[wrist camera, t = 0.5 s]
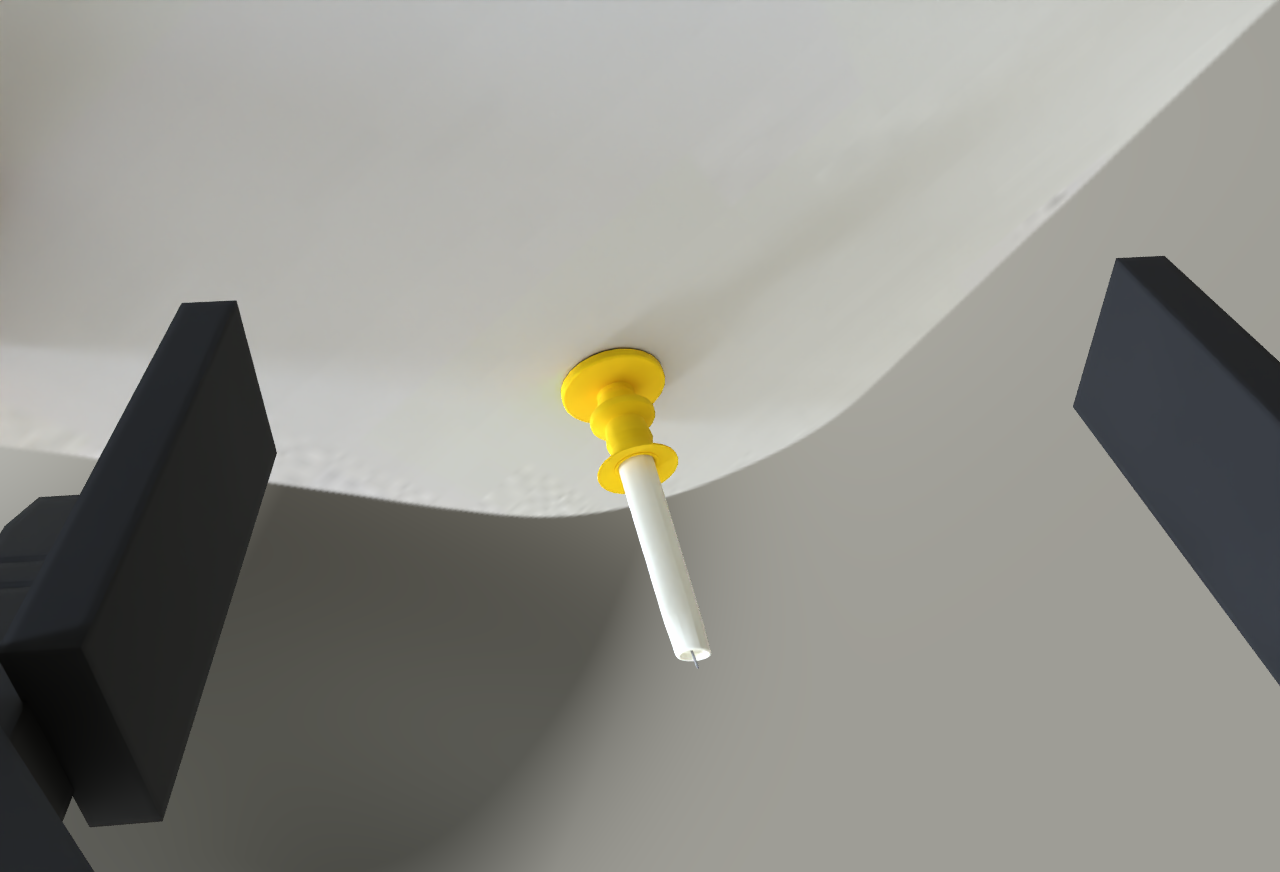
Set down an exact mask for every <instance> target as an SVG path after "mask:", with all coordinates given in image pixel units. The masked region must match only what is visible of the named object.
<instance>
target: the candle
mask: <svg viewBox="0 0 1280 872" xmlns="http://www.w3.org/2000/svg"><path fill="white" fill-rule="evenodd" d="M664 385H665V375H664V372H663V369H662V367H661V365H660V362H659V361H658V360H657V359H656V358H655V357H654V356H652V355H650V354H648V353H646V352H644V351H640V350H635V349H614V350H609V351H604V352H601V353H598V354H596V355H593V356H591V357H589V358H587V359H586V360H584V361H582V362H580V363H579V364H578V365H577V366H576V367H575V368H573V369H572V370H571V371H570V372H569V374H568V375H567V377H566V378H565V380H564V381H563V385H562V388H561V397H562V402H563V405H564V407H565V409H566V410H567V412H568V413H569V414H570V415H572V416H573V417H574V418H576V419H579V420H581V421H584V422H588V423H590V426H591V430H592V432H593V433H594V435H596V436H597V437H598V438H600V439H603V440H605V441H606V443H607V450H608V451H609V453H610V454H611V456H610V457H609V458H608V459H607V460H605V461H604V463H603V464H602V465H601V467H600V468H599V471H598V482H599V483H600V485H601V487H603V488H604V489H606V490H607V491H610V492H613V493H619V494H626V496H627V500H628V503H629V506H630V509H631V513H632V516H633V520H634V523H635V526H636V530H637V533H638V536H639V540H640V543H641V547H642V550H643V553H644V557H645V560H646V563H647V567H648V570H649V573H650V577H651V580H652V583H653V587H654V590H655V593H656V597H657V600H658V603H659V606H660V610H661V613H662V616H663V620H664V623H665V626H666V629H667V632H668V634H669V637H670V640H671V643H672V646H673V649H674V652H675V654H676V656H677V658H679V659H680V660H684V661H694V662H695V665H696V667H697V668H699V667H698V664H697V661H698V660H702V659H705V658H707V657H709V656H710V655H711V651H710V647H709V643H708V639H707V635H706V632H705V628H704V624H703V620H702V617H701V613H700V610H699V607H698V604H697V600H696V598H695V594H694V590H693V587H692V584H691V581H690V578H689V574H688V571H687V567H686V565H685V561H684V558H683V554H682V551H681V548H680V545H679V542H678V538H677V535H676V531H675V528H674V525H673V521H672V518H671V515H670V512H669V508H668V505H667V502H666V499H665V495H664V492H663V489H662V485H661V483H663V482H664V481H665V480H667V479H668V478H669V477H670V476H671V475H672V474H673V473H674V471H675V470H676V467H677V465H678V457H677V454H676V452H675V451H674V450H673V449H672V448H670V447H668V446H666V445H663V444H657V443H653V435H652V433H651V431H650V429H649V427H650V426H651V424H652V423H653V420H654V418H655V410H654V407H653V405H652V404H653V403H654V402H655V401H656V399H657V398H658V397H659V396H660V394H661V392H662V390H663V387H664Z"/></svg>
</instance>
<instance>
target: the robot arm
mask: <svg viewBox="0 0 1280 872" xmlns="http://www.w3.org/2000/svg"><path fill="white" fill-rule="evenodd" d="M1073 407H1074V409H1075V410H1076V411H1077V413H1078V414H1079V416H1080V417H1081V418H1082V420H1083V421H1084V422H1085V424H1086V425H1087V426H1088V428H1089V429H1090V430H1091V432H1092V433H1093V434H1094V436H1095V437H1096V438H1097V440H1098V441H1099V442H1100V444H1101V445H1102V446H1103V448H1104V449H1105V451H1106V452H1107V453H1108V455H1109V456H1110V457H1111V459H1112V460H1113V461H1114V463H1115V464H1116V465H1117V467H1118V468H1119V469H1120V471H1121V472H1122V474H1123V475H1124V476H1125V478H1126V479H1127V480H1128V482H1129V483H1130V484H1131V486H1132V487H1133V488H1134V490H1135V491H1136V492H1137V493H1138V495H1139V496H1140V498H1141V499H1142V500H1143V502H1144V503H1145V504H1146V506H1147V507H1148V509H1149V510H1150V511H1151V513H1152V514H1153V515H1154V517H1155V518H1156V519H1157V521H1158V522H1159V523H1160V525H1161V526H1162V527H1163V529H1164V530H1165V531H1166V533H1167V534H1168V536H1169V537H1170V538H1171V540H1172V541H1173V542H1174V544H1175V545H1176V546H1177V548H1178V549H1179V550H1180V552H1181V553H1182V554H1183V556H1184V557H1185V558H1186V560H1187V561H1188V562H1189V564H1190V565H1191V566H1192V568H1193V569H1194V571H1195V572H1196V573H1197V574H1198V576H1199V577H1200V578H1201V580H1202V581H1203V582H1204V584H1205V585H1206V587H1207V588H1208V589H1209V591H1210V592H1211V593H1212V595H1213V596H1214V597H1215V599H1216V600H1217V602H1218V603H1219V604H1220V606H1221V607H1222V608H1223V610H1224V611H1225V612H1226V613H1227V615H1228V616H1229V618H1230V619H1231V620H1232V622H1233V623H1234V624H1235V626H1236V627H1237V629H1238V630H1239V631H1240V633H1241V634H1242V635H1243V636H1244V638H1245V639H1246V641H1247V642H1248V643H1249V645H1250V646H1251V647H1252V649H1253V650H1254V651H1255V653H1256V654H1257V656H1258V657H1259V658H1260V659H1261V661H1262V662H1263V664H1264V665H1265V666H1266V668H1267V669H1268V670H1269V672H1270V673H1271V674H1272V676H1273V677H1274V678H1275V680H1276V681H1277V682H1278V684H1279V685H1280V362H1279V361H1278V360H1277V359H1276V358H1275V357H1274V356H1272V355H1271V354H1270V353H1269V352H1268V351H1267V350H1266V349H1265V348H1264V347H1263V346H1262V345H1260V344H1259V343H1258V342H1257V341H1256V340H1255V339H1254V338H1253V337H1252V336H1250V334H1249V333H1247V332H1246V331H1245V330H1244V329H1243V328H1242V327H1241V326H1240V325H1239V324H1238V323H1237V322H1236V321H1235V320H1233V319H1232V318H1231V317H1230V316H1229V315H1228V314H1227V313H1226V312H1225V311H1223V309H1221V308H1220V307H1219V306H1218V305H1217V304H1216V303H1215V302H1214V301H1213V300H1212V299H1210V297H1208V296H1207V295H1206V294H1205V293H1204V292H1203V291H1202V290H1201V289H1200V288H1199V287H1198V286H1196V285H1195V284H1194V283H1193V282H1192V281H1191V280H1190V279H1189V278H1188V277H1187V276H1186V275H1185V274H1184V273H1182V272H1181V271H1180V270H1179V269H1178V268H1177V267H1176V266H1175V265H1174V264H1173V263H1172V262H1170V261H1169V260H1168V259H1167V258H1166V257H1165V256H1155V257H1132V258H1116V261H1115V264H1114V268H1113V271H1112V274H1111V278H1110V282H1109V285H1108V288H1107V292H1106V295H1105V299H1104V302H1103V305H1102V309H1101V312H1100V316H1099V319H1098V323H1097V326H1096V329H1095V333H1094V336H1093V340H1092V343H1091V347H1090V350H1089V354H1088V357H1087V360H1086V364H1085V367H1084V371H1083V374H1082V378H1081V381H1080V384H1079V388H1078V391H1077V395H1076V398H1075V402H1074V405H1073ZM276 454H277V452H276V448H275V444H274V440H273V437H272V433H271V429H270V425H269V422H268V418H267V414H266V410H265V406H264V403H263V399H262V395H261V391H260V388H259V384H258V380H257V376H256V373H255V369H254V365H253V361H252V357H251V354H250V350H249V346H248V342H247V339H246V335H245V331H244V327H243V324H242V320H241V316H240V312H239V308H238V305H237V301H216V302H195V303H182V304H181V306H180V307H179V309H178V311H177V313H176V315H175V317H174V319H173V321H172V322H171V324H170V326H169V328H168V330H167V332H166V334H165V336H164V337H163V339H162V341H161V343H160V345H159V347H158V349H157V351H156V353H155V354H154V356H153V358H152V360H151V362H150V364H149V366H148V368H147V369H146V371H145V373H144V375H143V377H142V379H141V381H140V383H139V384H138V386H137V388H136V390H135V392H134V394H133V396H132V398H131V400H130V401H129V403H128V405H127V407H126V409H125V411H124V413H123V415H122V416H121V418H120V420H119V422H118V424H117V426H116V428H115V430H114V431H113V433H112V435H111V437H110V439H109V441H108V443H107V445H106V447H105V448H104V450H103V452H102V454H101V456H100V458H99V460H98V462H97V463H96V465H95V467H94V469H93V471H92V473H91V475H90V477H89V479H88V480H87V482H86V484H85V486H84V488H83V490H82V492H81V494H80V495H69V496H52V497H39V498H38V499H36V500H35V501H34V502H33V503H32V504H31V505H29V506H28V507H27V508H26V509H24V510H23V511H22V512H21V513H20V514H19V515H18V516H16V517H15V518H14V519H13V520H12V521H10V522H9V523H8V524H7V525H6V526H4V528H3V530H2V531H1V533H0V872H94V871H93V869H92V867H91V866H90V865H89V863H88V861H87V860H86V858H85V857H84V855H83V853H82V852H81V851H80V849H79V847H78V846H77V844H76V843H75V841H74V839H73V838H72V836H71V835H70V833H69V832H68V830H67V829H66V827H65V825H64V824H63V822H62V821H63V819H64V816H65V814H66V811H67V809H68V806H69V804H70V801H71V799H72V796H73V797H74V799H75V801H76V803H77V805H78V806H79V808H80V810H81V812H82V814H83V816H84V818H85V819H86V821H87V823H88V825H89V827H97V826H111V825H123V824H134V823H148V822H159V821H163V818H164V814H165V811H166V808H167V805H168V802H169V798H170V795H171V792H172V789H173V786H174V782H175V779H176V776H177V772H178V770H179V766H180V763H181V760H182V756H183V753H184V750H185V747H186V744H187V741H188V737H189V734H190V731H191V728H192V724H193V721H194V718H195V715H196V712H197V708H198V705H199V702H200V699H201V696H202V692H203V689H204V686H205V683H206V679H207V676H208V673H209V670H210V666H211V663H212V660H213V657H214V654H215V650H216V647H217V644H218V640H219V637H220V634H221V631H222V628H223V624H224V621H225V618H226V615H227V612H228V608H229V605H230V602H231V599H232V596H233V592H234V589H235V586H236V583H237V579H238V576H239V573H240V570H241V567H242V563H243V560H244V557H245V554H246V551H247V547H248V544H249V541H250V537H251V534H252V531H253V528H254V524H255V522H256V518H257V515H258V512H259V508H260V505H261V502H262V499H263V496H264V492H265V489H266V486H267V483H268V480H269V477H270V473H271V470H272V467H273V464H274V460H275V457H276Z"/></svg>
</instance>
